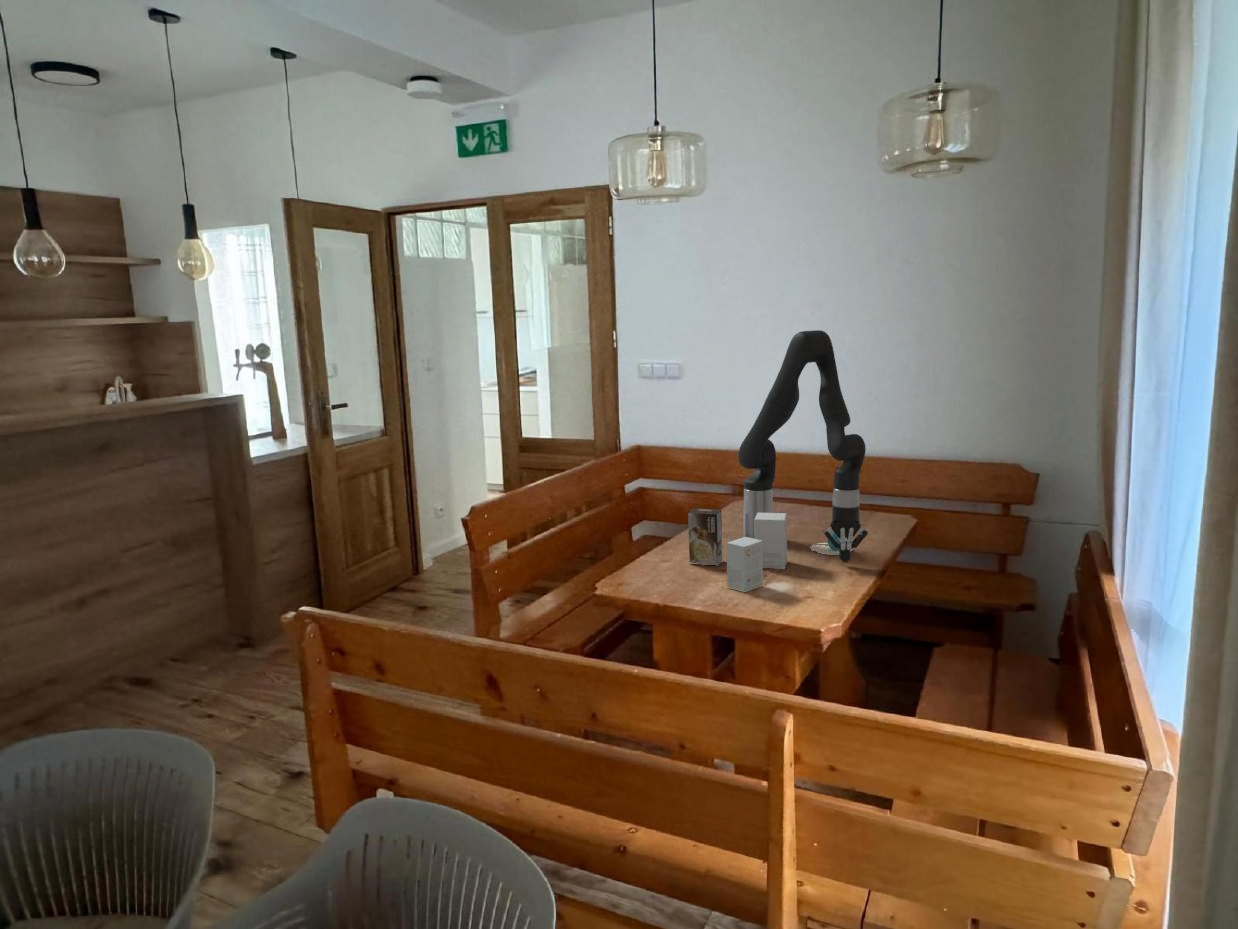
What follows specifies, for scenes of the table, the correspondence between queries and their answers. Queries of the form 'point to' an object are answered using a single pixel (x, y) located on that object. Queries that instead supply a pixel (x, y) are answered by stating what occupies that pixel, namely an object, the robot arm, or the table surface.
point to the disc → (825, 549)
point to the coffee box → (705, 536)
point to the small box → (745, 564)
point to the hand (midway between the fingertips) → (844, 561)
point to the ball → (832, 544)
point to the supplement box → (772, 538)
